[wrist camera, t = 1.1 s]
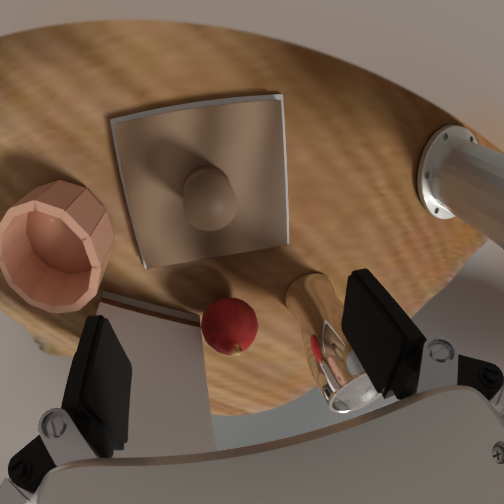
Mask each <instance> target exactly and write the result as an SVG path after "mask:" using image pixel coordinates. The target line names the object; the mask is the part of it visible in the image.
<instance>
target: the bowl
mask: <svg viewBox="0 0 504 504" xmlns="http://www.w3.org/2000/svg"><path fill="white" fill-rule="evenodd" d="M113 241H114V234H113V231H112V227H111V224H110V221H109V217H108V213H107V210H106V209H105V208H104V207H103V206H102V204H101V203H100V202H99V201H98V200H97V199H96V198H95V197H94V196H93V195H92V194H91V193H90V192H89V190H88V189H87V188H85V187H82V186H79V185H75V184H72V183H69V182H66V181H63V180H57V181H54V182H51V183H47V184H44V185H41V186H38V187H36V188H35V189H33V190H32V191H31V192H29V193H28V194H27V195H26V196H24V197H23V198H22V199H20V200H19V201H18V202H17V203H15V204H14V205H13V206H12V207H11V208H9V209H8V211H7V213H6V214H5V216H4V217H3V219H2V221H1V222H0V269H1V271H2V273H3V275H4V277H5V279H6V281H7V283H8V284H9V286H10V287H11V288H12V289H13V290H14V291H15V292H16V293H17V294H18V295H19V296H21V297H22V298H23V299H24V300H25V301H26V302H27V303H28V304H30V305H32V306H35V307H37V308H40V309H43V310H45V311H48V312H51V313H55V314H57V313H65V312H73V311H79V310H80V309H81V308H82V307H83V306H85V305H86V304H87V303H88V302H89V301H90V300H91V299H92V298H93V297H94V296H96V294H97V291H98V288H99V286H100V283H101V280H102V278H103V275H104V272H105V270H106V267H107V265H108V262H109V258H110V254H111V249H112V245H113Z"/></svg>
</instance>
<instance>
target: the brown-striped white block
mask: <svg viewBox="0 0 504 504" xmlns="http://www.w3.org/2000/svg"><path fill="white" fill-rule="evenodd" d="M96 315H102V316H103V317H104V318H107V319H108V320H109V322H110V324H111V326H112V328H113V330H114V332H115V334H116V336H117V338H118V340H119V342H120V344H121V345H122V347H123V349H124V351H125V353H126V355H127V357H128V358H129V360H130V362H131V365H132V381H131V393H130V407H129V425H128V441H127V443H124V450H114V454H113V457H114V458H133V457H159V456H175V455H187V454H197V453H206V452H214V451H217V450H216V444H215V438H214V431H213V425H212V418H211V411H210V404H209V396H208V389H207V381H206V373H205V364H204V355H203V346H202V337H201V326H200V316H199V315H195V314H190V313H186V312H182V311H178V310H174V309H170V308H166V307H162V306H158V305H154V304H151V303H147V302H143V301H140V300H136V299H132V298H129V297H125V296H122V295H118V294H115V293H111V292H108V291H105V290H104V291H103V294H102V297H101V300H100V303H99V307H98V310H97V313H96Z"/></svg>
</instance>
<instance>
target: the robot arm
mask: <svg viewBox="0 0 504 504" xmlns="http://www.w3.org/2000/svg"><path fill="white" fill-rule="evenodd" d="M417 186H418V194H419V197H420V200H421V203H422V204H423V206H424V208H425V209H426V210H427V211H428V212H429V213H430V214H432V215H433V216H435V217H437V218H439V219H450V218H452V217H455V216H456V217H458V218H460V219H461V220H463V221H464V222H466V223H467V224H469V225H470V226H472V227H473V228H475V229H476V230H478V231H479V232H480V233H482V234H483V235H485V236H486V237H488V238H489V239H490V240H492V241H493V242H494V243H496V244H497V245H499V246H500V247H501V248H503V249H504V154H501V153H499V152H496V151H494V150H491V149H489V148H486V147H483V146H481V145H478V142H477V140H476V139H475V137H474V135H473V134H472V133H471V132H470V131H469V130H468V129H466V128H464V127H461V126H458V125H446V126H444V127H442V128H440V129H439V130H438V131H436V132H435V133H434V134H433V136H432V137H431V138H430V139H429V141H428V143H427V144H426V146H425V148H424V150H423V153H422V155H421V159H420V163H419V167H418V175H417ZM341 329H342V332H343V334H344V336H345V337H346V339H347V341H348V342H349V344H350V346H351V348H352V349H353V351H354V353H355V355H356V356H357V358H358V360H359V361H360V363H361V365H362V367H363V368H364V370H365V372H366V374H367V376H368V377H369V379H370V381H371V383H372V384H373V386H374V388H375V390H376V391H377V393H379V394H380V393H381V394H382V395H383V397H384V399H386V398H388V397H391V396H393V395H395V396H396V398H397V399H398V401H397V402H395V403H392V404H390V405H387V406H385V407H382V408H380V409H377V410H374V411H372V412H369V413H366V414H363V415H361V416H358V417H355V418H353V419H350V420H347V421H344V422H341V423H337V424H334V425H331V426H328V427H325V428H322V429H318V430H315V431H311V432H307V433H304V434H300V435H296V436H292V437H288V438H284V439H280V440H275V441H271V442H267V443H262V444H257V445H252V446H246V447H240V448H235V449H228V450H222V451H214V452H206V453H197V454H187V455H175V456H159V457H133V458H114V457H113V454H114V450H124V443H127V441H128V425H129V407H130V393H131V381H132V365H131V362H130V360H129V358H128V357H127V355H126V353H125V351H124V349H123V347H122V345H121V344H120V342H119V340H118V338H117V336H116V334H115V332H114V330H113V328H112V326H111V324H110V322H109V320H108V319H107V318H104V317H103V316H102V315H95V316H88V317H87V319H86V322H85V325H84V328H83V332H82V335H81V338H80V341H79V345H78V348H77V352H76V353H75V355H74V357H73V361H72V364H71V368H70V372H69V376H68V380H67V384H66V388H65V392H64V397H63V401H62V406H61V408H53V409H50V410H48V411H46V412H45V413H44V414H43V415H42V417H41V418H40V420H39V424H38V431H39V434H40V435H38V436H37V437H36V438H35V439H34V440H32V441H31V442H30V443H29V444H28V445H26V446H25V447H24V448H23V449H22V450H20V451H19V452H18V453H17V454H15V455H14V456H13V457H12V458H11V460H10V462H9V465H8V474H9V479H7V478H5V479H4V480H3V482H2V484H1V485H0V504H504V376H503V374H502V371H501V370H500V369H499V367H497V366H496V365H494V364H492V363H489V362H485V361H482V360H478V359H474V358H470V357H466V356H463V355H459V354H458V350H457V348H456V346H455V344H454V343H453V342H452V341H451V340H449V339H447V338H445V337H441V336H434V337H431V338H429V339H428V340H427V339H426V338H425V337H424V335H423V334H422V333H421V331H420V330H419V329H418V328H417V326H416V325H415V324H414V323H413V322H412V320H411V319H410V318H409V317H408V315H407V314H406V313H405V312H404V311H403V309H402V308H401V307H400V306H399V305H398V303H397V302H396V301H395V300H394V299H393V298H392V296H391V295H390V294H389V293H388V292H387V291H386V289H385V288H384V287H383V286H382V285H381V284H380V282H379V281H378V280H377V279H376V278H375V277H374V276H373V274H372V273H371V272H370V271H369V270H368V269H366V268H364V269H360V270H355V271H353V272H352V273H351V275H350V276H349V277H348V281H347V288H346V296H345V303H344V309H343V316H342V322H341Z"/></svg>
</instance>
